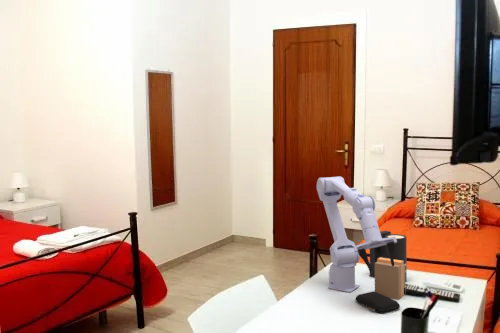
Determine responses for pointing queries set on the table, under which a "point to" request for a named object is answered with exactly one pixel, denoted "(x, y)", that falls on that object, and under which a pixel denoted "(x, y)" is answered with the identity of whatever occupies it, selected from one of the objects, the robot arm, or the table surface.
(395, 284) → the tan upright slab
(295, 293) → the table surface
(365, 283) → the table surface
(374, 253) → the light fixture
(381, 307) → the carrying case or bag
